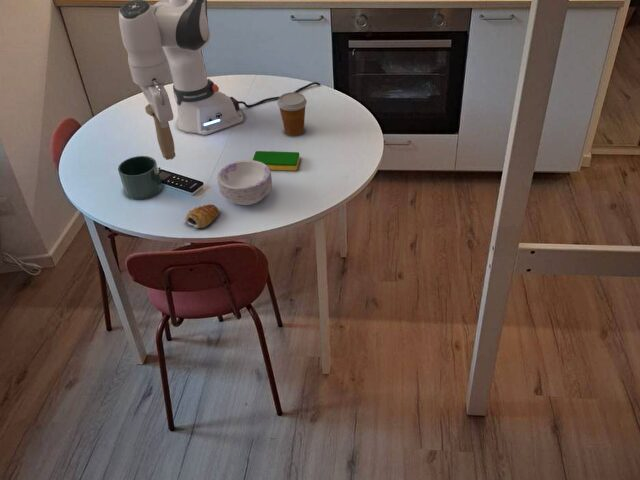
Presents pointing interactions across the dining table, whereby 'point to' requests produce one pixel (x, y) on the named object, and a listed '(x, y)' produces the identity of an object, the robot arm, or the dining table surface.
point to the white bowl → (244, 181)
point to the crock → (140, 177)
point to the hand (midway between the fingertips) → (161, 122)
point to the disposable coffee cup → (292, 112)
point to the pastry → (202, 216)
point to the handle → (163, 136)
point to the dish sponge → (278, 159)
